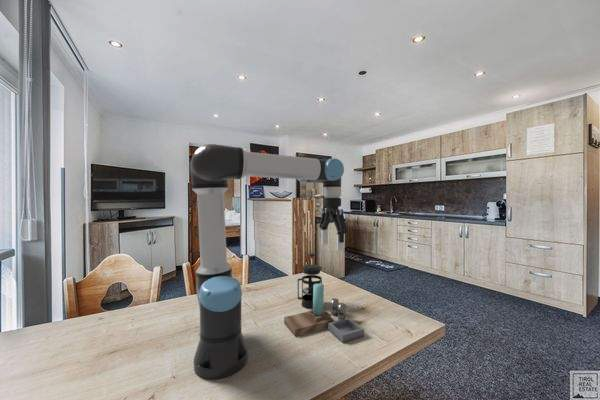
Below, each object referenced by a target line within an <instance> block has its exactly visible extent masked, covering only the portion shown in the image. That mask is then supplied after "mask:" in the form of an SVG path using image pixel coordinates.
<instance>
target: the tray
mask: <svg viewBox="0 0 600 400" xmlns="http://www.w3.org/2000/svg"><path fill="white" fill-rule="evenodd" d="M327 331H329V332H330V333H331V334H332V335H333V336H334V337H335V338H336V339H338V341H340V342H341V344H345V343H348V342H350V341H353V340H356V339H360V338H363V337H365V329H364V328H363V327H361V325H359V324H358V323H356V322H354V320H352V319H351V318H349V317H346V319H342V320H338V319H337V320H335V321H334V322H331V323H328V328H327Z"/></svg>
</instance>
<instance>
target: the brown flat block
mask: <svg viewBox="0 0 600 400" xmlns="http://www.w3.org/2000/svg"><path fill="white" fill-rule="evenodd" d="M334 320H335V319H334V318H332V315H331V313H329V312H328V311H327V310H326V309H324V308H323V316H319V317H316V316H315V315H314V314H313V309H309V310H307V311H305V312H301V313H297V314H293V315H288V316H284V318H283V324H284V325H285V326H286V328H288V330H289V332H291V334H292V335H293V336H294V337H298V336H302V335H303V336H304V335H307V334H309V333H313V332H317V331H320V330H321V331H322V330H324V329H328V323H331V322H335V321H334Z"/></svg>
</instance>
